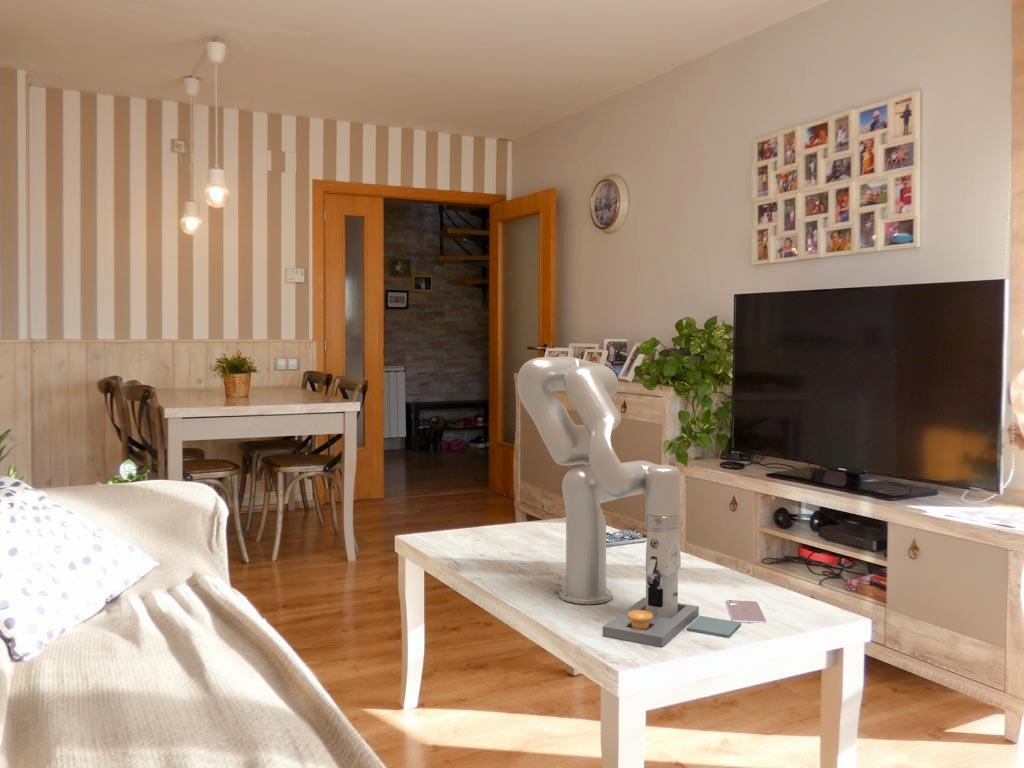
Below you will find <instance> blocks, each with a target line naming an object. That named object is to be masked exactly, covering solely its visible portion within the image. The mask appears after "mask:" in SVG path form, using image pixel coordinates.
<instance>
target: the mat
mask: <svg viewBox="0 0 1024 768" xmlns="http://www.w3.org/2000/svg"><path fill="white" fill-rule="evenodd" d="M741 626H742V623H741V622H735V621H731V620H727V619H722V618H716V617H710V616H704V615H698V616H697V617H696V618H695V619H694V620H693V622H690V623H689V624H688V625H687V626H686V631H689V632H693V633H694V632H695V633H699V634H705V635H710V636H717V637H721V638H728V639H729V638H731V637H732V636H733V634H734V633H735V632H736V631H737V630H738V629H739V628H740V627H741Z"/></svg>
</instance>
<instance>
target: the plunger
mask: <svg viewBox="0 0 1024 768" xmlns="http://www.w3.org/2000/svg"><path fill="white" fill-rule="evenodd" d="M628 619H630V620H632V628H635V629H641V630H646V631H647V630H648V629H649V621H651V620H652V619H653V613H651V612H649V611H645V610H633V611H630V612H628Z"/></svg>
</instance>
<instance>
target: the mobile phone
mask: <svg viewBox="0 0 1024 768" xmlns="http://www.w3.org/2000/svg"><path fill="white" fill-rule="evenodd" d="M724 604H725V607H726V610H727V612H728V616H729V618H730V621H735V622H741V624H753V623H766V622H768V621H767V619H766V617H765V615H764V613H763V611H762V608H761V606H760V604H759V603H758V602H757V601H754V600H753V601H752V600H735V599H728V600H725V601H724ZM750 622H751V623H750ZM766 624H767V623H766Z"/></svg>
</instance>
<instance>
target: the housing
mask: <svg viewBox="0 0 1024 768" xmlns="http://www.w3.org/2000/svg"><path fill="white" fill-rule="evenodd" d="M699 608H700V606H698V605H693V604H687V603H680V602H678V613H677V614H676V615H675V616H673V617H672V618H666V617H660V616H654V615H653V619H652V620H651V621H649V629H648V630H647V631H646V630H641V629H635V628H632V620H630V619H628V612H630V611H633V610H645V611H646V597H643V598H641V599H640V600H638V601H637V602H635V603H634V604H633V605H631V606H630V607H628V608H627V609H625V610H623V611H622V612H621V613H620V614H618V615H617V616H616V617H613V619H611V620H610V621H608V622H607V623H605V624H603V626H602V637H607V638H612V639H617V640H623V641H628V642H633V643H638V644H643V645H647V646H654V647H659V648H663V647H664V646H666V645H667V644H668V643H669V642H670V641H671V640H672V639H673V638H675V636H677V635H678V634H679V633H680V632H681V631H683V630H684V629H685V628H687V627H688V626H689V625H690V624H691V623H692V621H693V622H694V621H695V620H696V619H697V618H698V617H699V616H700V613H699V611H700V609H699Z"/></svg>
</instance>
